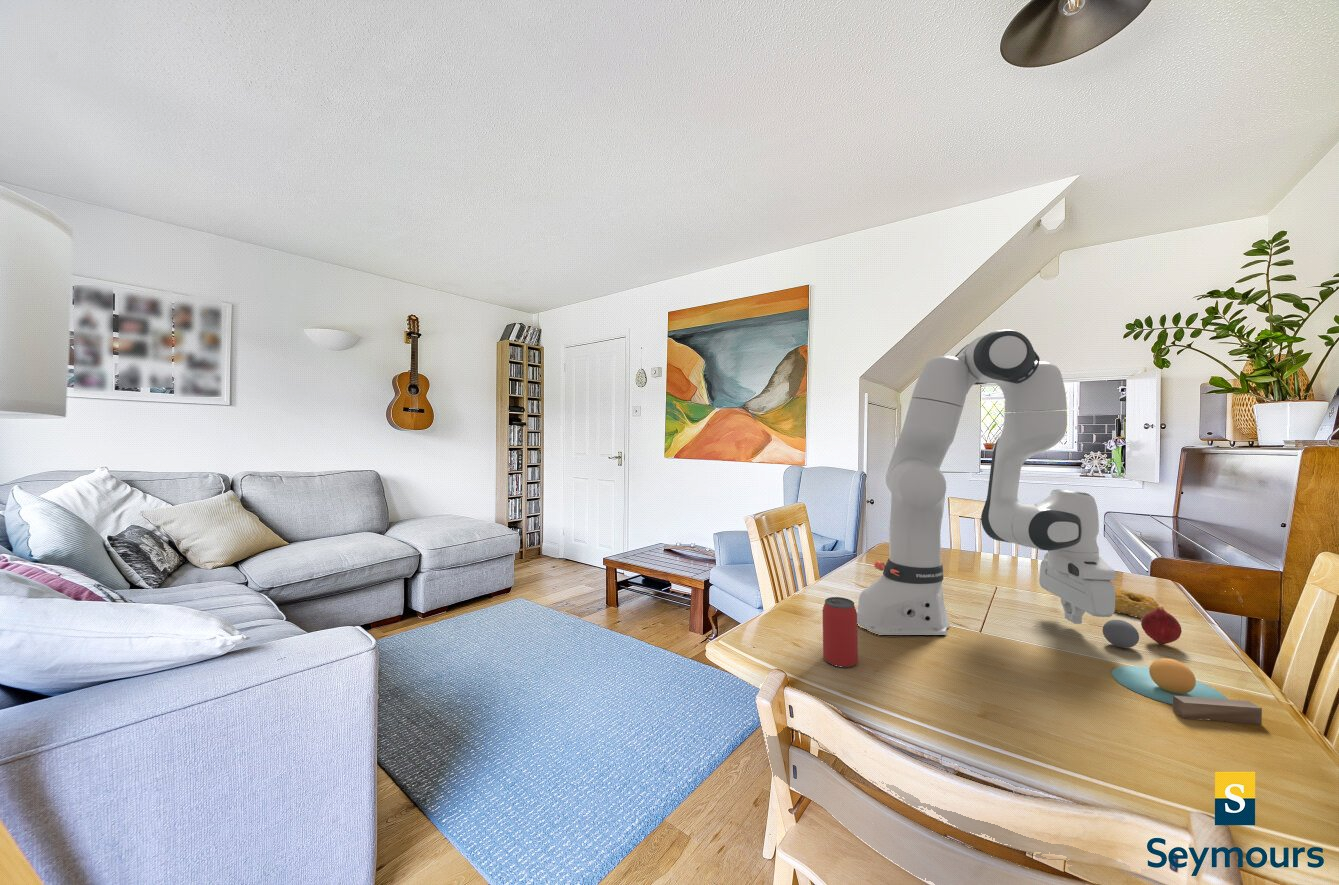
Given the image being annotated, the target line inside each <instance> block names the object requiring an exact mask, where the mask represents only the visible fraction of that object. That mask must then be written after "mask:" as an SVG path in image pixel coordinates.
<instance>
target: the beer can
mask: <svg viewBox="0 0 1339 885" xmlns="http://www.w3.org/2000/svg"><path fill="white" fill-rule="evenodd" d="M856 609H857V608H856V607H855V601H853V600H852V599H850V598H846V597H841V596H830V597H826V599H824V604H823V607H822V657H823V659H824V660H826V661H827V663H828V662H829V663H831V664H833V665H837V666H842V667H841V668H843V667H845V668H851V667H850V666H852V667H854V666H856V664H857V663H858V662H859V656H858V655H859V652H858V651H859V649H858V641H859V640H858V635H859V634H858V625H857V612H856ZM826 661H825V662H826ZM829 663H828V664H829ZM831 664H830V665H831ZM833 665H832V666H833ZM837 666H836V667H837Z"/></svg>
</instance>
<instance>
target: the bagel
mask: <svg viewBox="0 0 1339 885" xmlns="http://www.w3.org/2000/svg"><path fill="white" fill-rule="evenodd" d="M1158 606H1160V604H1159V603H1158V602H1157V601H1156V600H1155V599H1154V598H1153V597H1152V596H1151V597H1150V596H1148V595H1145V594H1144V593H1143V594H1141V593H1138V592H1133V591H1128V590H1125V589H1120V588H1115V611H1114V612H1116V611H1117V612H1116V613H1118V612H1120V613H1119V614H1122V613H1123V614H1122V615H1126V614H1128V616H1130V615H1131V617H1133V616H1137V617H1140V618H1139V619H1141V618H1143V617H1144V616H1145V615H1146V614H1147V613H1149V612H1151V611H1154V610H1156V609H1157V607H1158ZM1137 617H1136V618H1137Z"/></svg>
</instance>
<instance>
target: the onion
mask: <svg viewBox="0 0 1339 885" xmlns="http://www.w3.org/2000/svg"><path fill="white" fill-rule="evenodd" d="M1140 622H1141V623H1140V626H1141V628H1142V629H1143V631H1144V633H1145V634H1146V635H1147V636H1148V637H1149V638H1150V639H1151V640H1153V641H1154V642H1155V643H1156V644H1158V645H1161V644H1163V645H1162V646H1164V645H1166V644H1169V643H1173V642H1175V641H1178V640H1179V638H1180V637H1181V634H1182V626H1181V624H1180V623H1179V621H1178V619H1177V618H1175V616H1173V614H1171V613H1169V612H1168V611H1166V610H1165V609H1164V607H1163V606H1162V605H1159V606H1158V607H1157V609H1156V610H1154V611H1151V612H1149V613H1147V614H1146V615H1145V616H1144V617H1143V618H1142V619H1141V621H1140Z"/></svg>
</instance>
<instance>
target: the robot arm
mask: <svg viewBox="0 0 1339 885" xmlns="http://www.w3.org/2000/svg"><path fill="white" fill-rule="evenodd" d="M986 384H996V385H997V386H998V387H999V389H1000V390H1001V392H1002V395H1003V398H1004V421H1003V426H1002V427H1003V428H1002V431H1001V434H1000V436H999V438H998V439H997V440H996V441H995V443H994V446H993V450H992V451H993V452H992V457H991V464H990V472H989V478H988V486H987V487H988V488H987V495H986V500H985V502H984V505H983V508H982V511H981V515H980V522H981V526H982V528H983V530H984V532H985V534H986V535H987V536H988V537H989V538H991V539H992V540H993V541H994V540H995V541H1000V542H1005V543H1010V544H1011V543H1012V544H1015V545H1019V546H1023V547H1026V548H1031V549H1036V550H1039V551H1046V554H1044V555H1043V556H1044V557H1043V559H1042V560H1041V561H1040V565H1039V566H1040V567H1039V574H1038V575H1039V578H1038V581H1039V585H1040V587H1041V589H1043V590H1045V591H1047V592H1048V593H1051V594H1053V595H1054V596H1056V597H1058V598H1059V599H1060V603H1061V607H1062V609H1063V611H1064V619H1066V620H1067V621H1069V622H1071V623H1072V624H1076V625H1081V624H1083V623H1082V622H1083V616H1084V614H1085V613H1087V614H1089V615H1091V616H1092V617H1097V618H1099V617H1100V618H1111V617H1112V616H1113V615H1114V613H1115V612H1116V611H1115V589H1116V588H1115V585H1114V583H1113V581H1115V580H1116V579H1117V572H1116V571H1115V569H1114V568H1112V567H1111V566H1110V565H1109V564H1108V563H1107V562H1106V561H1105V560H1104V559H1103V558H1102V557H1101V556H1100V549H1099V545H1098V543H1097V537H1098V534H1099V531H1100V529H1099V528H1100V527H1099V526H1100V523H1099V522H1100V520H1099V511H1098V506H1097V503H1096V499H1095V497H1094V496H1093V495H1091V494H1090V493H1087V492H1081V491H1076V490H1075V491H1074V490H1070V489H1069V490H1068V489H1062V488H1061V489H1060V488H1059V489H1053V490H1051V492H1050V494H1049V496H1047V498H1044V500H1041V501H1039V502H1037V503H1034V504H1027V503H1023V502H1020V501H1019V499H1018V494H1019V491H1018V490H1019V485H1020V477H1021V469H1022V466H1023V465H1024V464H1025V462H1026V461H1027V460H1029V459H1030V458H1031V457H1033V456H1035V455H1038V454H1041V453H1043V452H1045V451H1048V450H1050V449H1051V448H1053V447H1055V446H1056V445H1057V444H1058V443H1060V441H1061V440H1062V439H1063V438H1064V437H1065V434H1066V431H1067V426H1068V411H1067V410H1068V406H1067V405H1068V404H1067V395H1066V394H1067V393H1066V387H1065V383H1064V379H1063V376H1062V373H1061V370H1060V368H1059V367H1058V366H1057V365H1055V364H1053V363H1052V362H1051V363H1050V362H1047V361H1040V356H1039V355H1038V354H1037V352H1036V351H1035V349H1034V347H1033V345H1032V343H1031V341H1030V340H1029V338H1027V336H1025V335H1024V334H1023V333H1021V332H1019V331H1017V330H1013V329H999V330H994V331H992V332H989V333H988V334H987V333H986V334H984V335H980V336H979V337H977V338H975V339H974V340H972V341H971V342H969V343H968V344H966V345H965V346H964V347H963V348H962V349H960V350H959V351H958V353H956V355H954V356H951V355H941V356H935V357H933V358H930V359H929V360H928V361H927V362H925V364H924V366H923V369H922V370H921V373H920V374H919V376H918V378H917V380H916V383H915V386H914V388H913V391H912V395H911V398H910V401H909V405H908V408H907V411H906V415H905V419H904V422H903V426H902V429H901V432H900V434H899V438H898V440H897V442H896V444H895V447H894V450H893V453H892V456H891V459H890V460H889V464H888V468H887V471H886V474H885V484H886V486H887V489H888V490H889V492H891V494H890V495H891V498H890V499H891V500H890V502H891V503H890V505H891V506H890V515H889V516H890V518H889V525H888V545H889V546H888V547H889V548H888V551H889V552H888V554H889V555H888V556H889V558H888V559H887V560H886V563H884V562H882V561H880V560H876V561H875V562H874V563H873V567H874V568H875V569H876V570H879V571H881V572H882V575H881V576H880V577H878V578H877V579H876V580H874V582H871V584H870V585H869V586H867V587H866V588H864V589H863V590H862V591H861V592H860V595H859V598H858V604H857V608H855V609H856V612H857V623H858V624H859V625H860V626H862V627H864V628H866V629H867V630H870V631H872V632H874V633H877V634H881V635H945V636H947V635H946V634H948V633H947V629H948V628H950V627H951V623H950V621H949V618H948V615H947V611H946V605H945V600H944V594H943V581H944V566H943V563H942V559H941V558H942V548H941V547H942V546H941V545H942V544H941V543H942V542H941V541H942V540H941V537H942V536H941V534H942V524H943V515H944V511H945V510H944V508H945V499H946V498H945V497H946V493H947V492H946V491H947V481H946V478H945V475H944V473H943V472H942V471H941V469H940V468H941V466H942V464H943V462H944V460H945V457H946V455H947V453H948V450H949V449H950V447H951V445H952V444H953V443H954V441H955V437H956V433H957V429H958V426H959V423H960V419H961V416H962V413H963V409H964V406H965V403H966V399H967V398H966V397H967V395H968V394H969V391H970V390H971V388H972V387H973V386H974V385H986Z"/></svg>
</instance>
